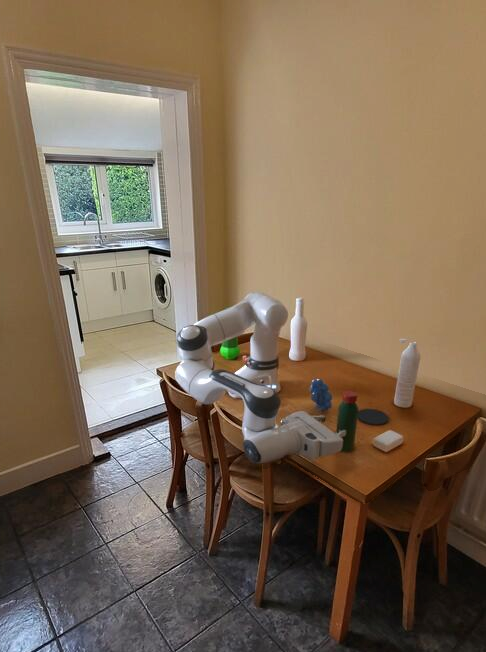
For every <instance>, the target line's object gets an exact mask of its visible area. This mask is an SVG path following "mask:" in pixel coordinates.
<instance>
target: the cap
mask: <svg viewBox="0 0 486 652" xmlns="http://www.w3.org/2000/svg"><path fill="white" fill-rule="evenodd" d="M357 400H358V393H357V392H355V391H353V390H345V391H343V393H342V402H343V401H344V402H346V403H355V402H357Z"/></svg>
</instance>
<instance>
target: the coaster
mask: <svg viewBox="0 0 486 652" xmlns="http://www.w3.org/2000/svg"><path fill="white" fill-rule="evenodd" d="M357 420H358V421H360V422H361V423H363V424H366V425H370V426H383V425H385V424H387V423H388V422H389V415H388V414H386V413H385V412H384V411H381V410H378V409H373V408H364V409H360V410H359V411H358V419H357Z"/></svg>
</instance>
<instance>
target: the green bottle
mask: <svg viewBox="0 0 486 652" xmlns="http://www.w3.org/2000/svg"><path fill="white" fill-rule="evenodd" d="M356 402H357V401H356ZM356 402H355V403H346V402H344V401H343V400H342V401H341V403H339V405H338V408H337V409H338V411H337V419H336V428H335V433H339V432H338V430H339V429H344V430H345V431H346V435H345V436H343V437H341V438H342V439H343V446H342V449H341V451H340V452H345V453H347V452H351V451H353V450H354V449H355V441H356V434H357V433H356V432H357V425H358V420H359V419H358V412H359V411H360V410H359V406H358V403H356Z"/></svg>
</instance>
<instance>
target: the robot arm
mask: <svg viewBox="0 0 486 652" xmlns="http://www.w3.org/2000/svg"><path fill="white" fill-rule="evenodd" d="M229 307H230V308H228V309H226V310H224V309H223V310H221V311H219V312H218V311H217V312H216V313H214V314H211V315H208V316H206V317H204V318H202V319H200V320H199V321H197V322H196V323H193V324H189V325H186V326H184V327H183V328H181V329H180V330H179V331H178V333H177V336H176V342H177V344H176V345H177V347H178V350H179V351H178V352H179V355H180V358H181V360H182V361H180V363H178V365H177V366H176V369H175V371H174V377H175V378H174V379H175V380H176V382H177V383H178V385H179V386H180V387H181V388H182V389H183V390H184V391H185V392H186V393H187V394H188V396H189V395H191V398H193V399H194V400H196V401H197V402H198V403H201V404H203V405H214V404H216V403H217V402H219V401H220V400H222V398H223V397H224V396H225V395H226V393H227V394H228V396H230V397H231V398H233V399H242V401H243V405H244V411H243V417H242V425H241V434H242V436H243V442H242V448H243V452H244V454H245V456H246V457H247V459H248V460H249V461H250V462H252V463H254V464H266V463H271V462H274V461H277V460H280V459H282V458H284V457H285V456H287V455H289V456H290V455H295V454H296V455H300V456H303V457H304V458H308V459H310V460H312V461H316V460H318V459H319V456H320V457H328V456H331V455H334V454H336V453H339V452H342V451H341V449H342V446H343V439H342V438H341V437H343V436H345V435H346V431H345V430H344V429H339V430H338V432H339V433H336V432H334V431H332V430H331V429H330V428H328V427H327V426H326V425H324V424H323V423H325V422H326V420H327V417H326V416H325V415H323V414H322V415H310V414H309V413H308V412H305V411H304V410H298V411H296V412H293V413H291V414H288V415H287V416H286V417H285V418H284V417H283V418H281V420H280V426H278V424H276V422H277V416H278V412H279V411H280V410H279V409H280V407H281V403H282V399H281V397H280V395H279V394H278V393H279V392H280V391H281V389H282V388H281V384H280V378H279V366H280V358H279V355H278V354H279V338H280V334H281V331H282V328H283V327H284V326H285V325H286V323H287V321H288V318H289V311H288V309H287V308H286V306H285V305H284V304H283V303H282V302H281V301H280V300H279V299H277V298H275V297H273V296H270V295H269V294H266V293H264V292H261V291H255V292H254V291H253V292H250V293H248V294H247V295H246V296H245V297H244V299H242V300H241V301H239V302H238V303H236V304H234V305H233V306H232V305H231V306H229ZM253 325H254V330H253V334H252V335H251V336H250V343H249V344H250V345H249V347H250V348H249V349H250V351H249V353H250V355H249V356H247V355H243V356H242V360H243V361H244V362H245V365H243V366H242V367H241V368H239V369H238V370H237V371H235V372H232V371H230V370H226V369H220V368H219V369H215V361H214V355H213V350H212V347H213V346H216V345H219V344H222V342H225V341H227V340H230V339H232V338H235V337H237V336H238V337H239V336H242V335H244V334H245V332H246V330H248V329H249V328H250V327H251V326H253Z"/></svg>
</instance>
